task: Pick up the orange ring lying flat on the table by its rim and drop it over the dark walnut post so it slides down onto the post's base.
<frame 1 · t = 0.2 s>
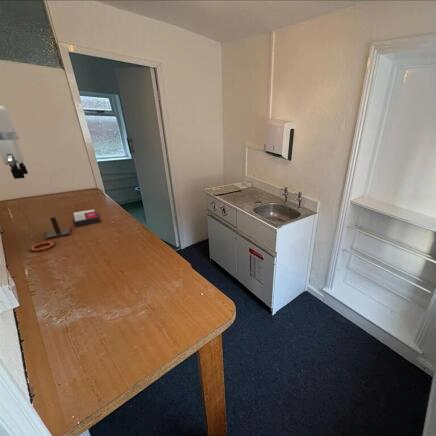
hand: (21, 176, 106), 33 cm above the table, tool pointing down, fingers open, 9 cm apart
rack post: (58, 233, 125), on the table
orange ring: (42, 246, 112), point 1 cm above the table
calculator: (87, 220, 142), on the table
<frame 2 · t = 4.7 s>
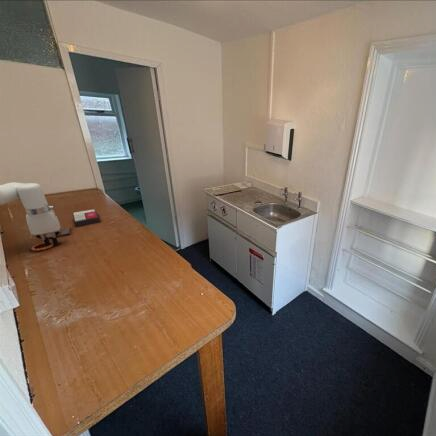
hand: (52, 244, 114), 0 cm above the table, tool pointing down, fingers closed on orange ring, 1 cm apart
orange ring: (43, 246, 112), point 1 cm above the table, touching gripper
everything else where it was.
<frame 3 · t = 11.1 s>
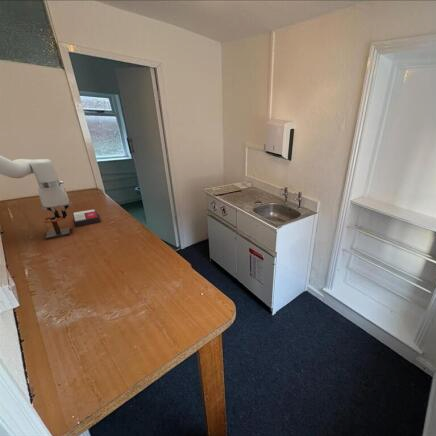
hand: (61, 217, 124), 9 cm above the table, tool pointing down, fingers closed on orange ring
orange ring: (53, 218, 122), point 9 cm above the table, touching gripper
everything else where it was.
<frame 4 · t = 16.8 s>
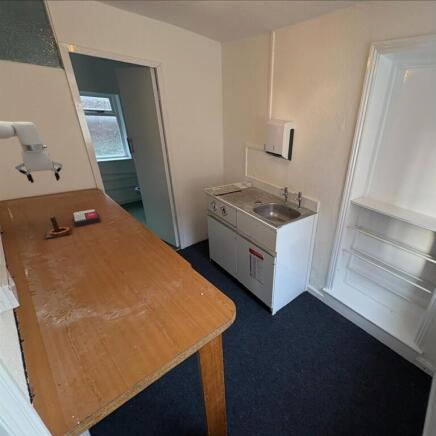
hand: (45, 181, 124), 26 cm above the table, tool pointing down, fingers open, 9 cm apart
orange ring: (59, 230, 125), point 2 cm above the table, touching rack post
everything else where it was.
at the end: orange ring 0.7 cm from the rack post (horizontally); orange ring point 1.6 cm above the table; the gripper is holding nothing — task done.
